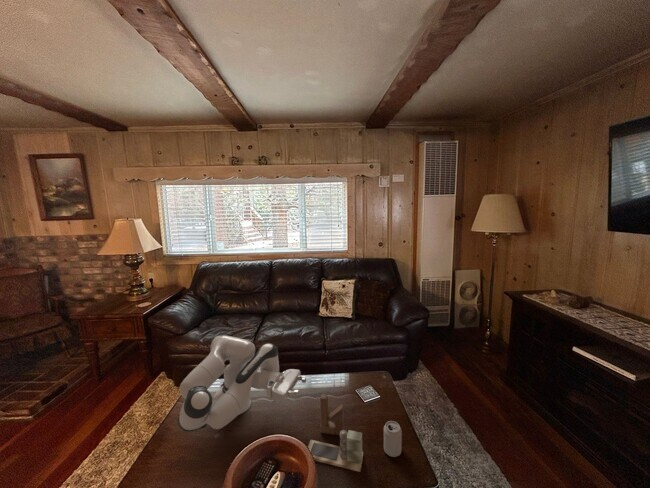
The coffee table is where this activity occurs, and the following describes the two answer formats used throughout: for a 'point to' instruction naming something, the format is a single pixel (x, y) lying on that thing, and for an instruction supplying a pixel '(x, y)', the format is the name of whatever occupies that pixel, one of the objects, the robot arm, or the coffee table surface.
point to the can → (392, 438)
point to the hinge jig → (340, 451)
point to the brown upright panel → (330, 418)
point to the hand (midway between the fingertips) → (302, 386)
